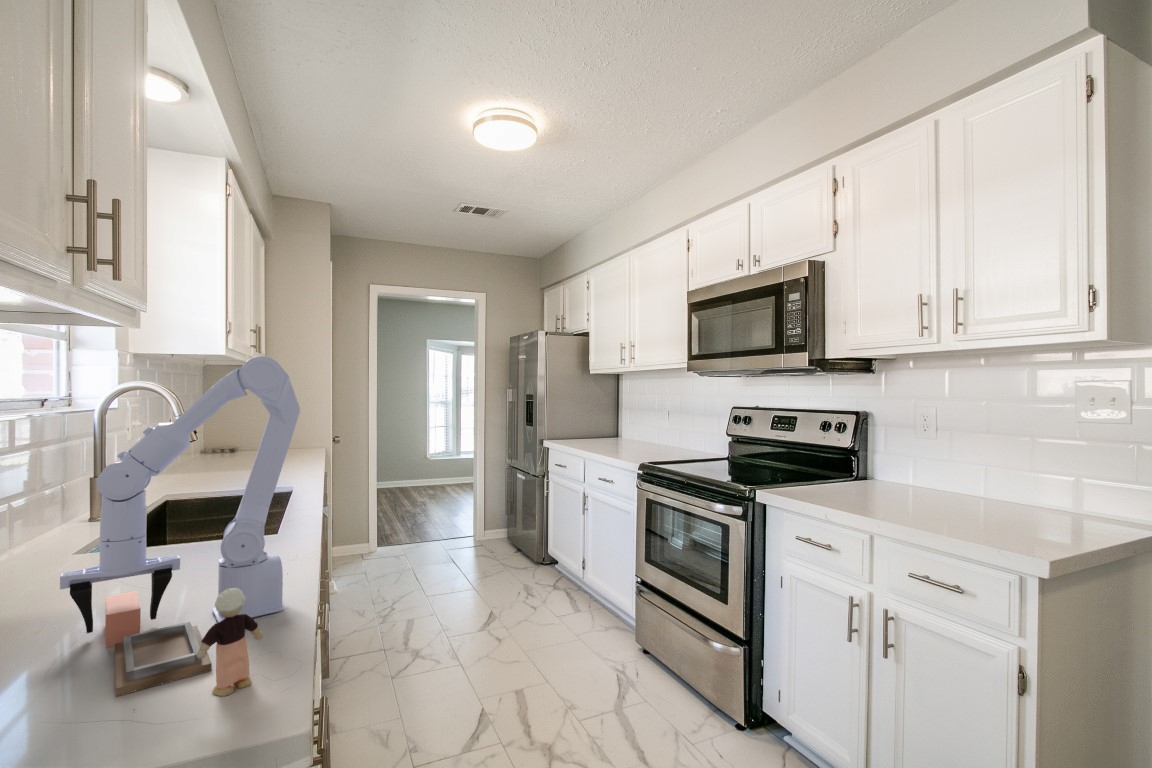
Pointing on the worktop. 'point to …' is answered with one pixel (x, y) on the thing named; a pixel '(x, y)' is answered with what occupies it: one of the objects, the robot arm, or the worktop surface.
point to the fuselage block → (121, 617)
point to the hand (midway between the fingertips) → (122, 623)
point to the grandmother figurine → (230, 642)
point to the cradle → (158, 657)
